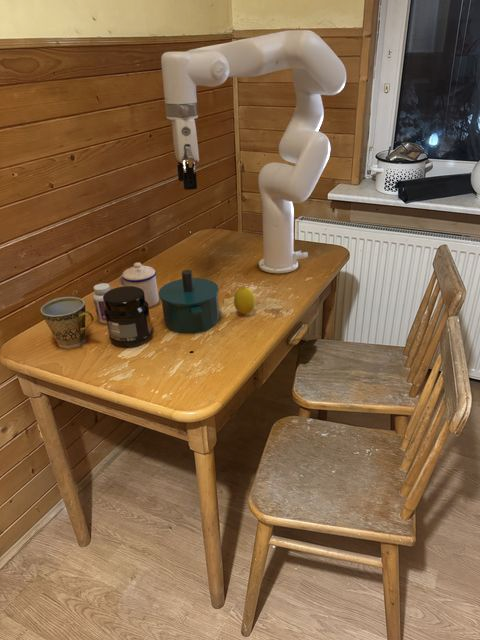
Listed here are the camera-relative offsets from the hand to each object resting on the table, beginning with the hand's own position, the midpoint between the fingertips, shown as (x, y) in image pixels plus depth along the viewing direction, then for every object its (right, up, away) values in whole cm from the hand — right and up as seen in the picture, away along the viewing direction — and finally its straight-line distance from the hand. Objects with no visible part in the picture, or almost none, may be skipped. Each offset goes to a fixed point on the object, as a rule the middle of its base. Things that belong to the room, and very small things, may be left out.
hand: (187, 184), depth 130 cm
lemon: (+15, -33, +5) cm, 37 cm away
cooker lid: (0, -28, -1) cm, 28 cm away
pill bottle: (-22, -34, +5) cm, 41 cm away
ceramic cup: (-26, -41, -5) cm, 49 cm away
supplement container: (-13, -40, -4) cm, 42 cm away
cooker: (+1, -35, +3) cm, 35 cm away
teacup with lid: (-16, -29, +13) cm, 35 cm away
